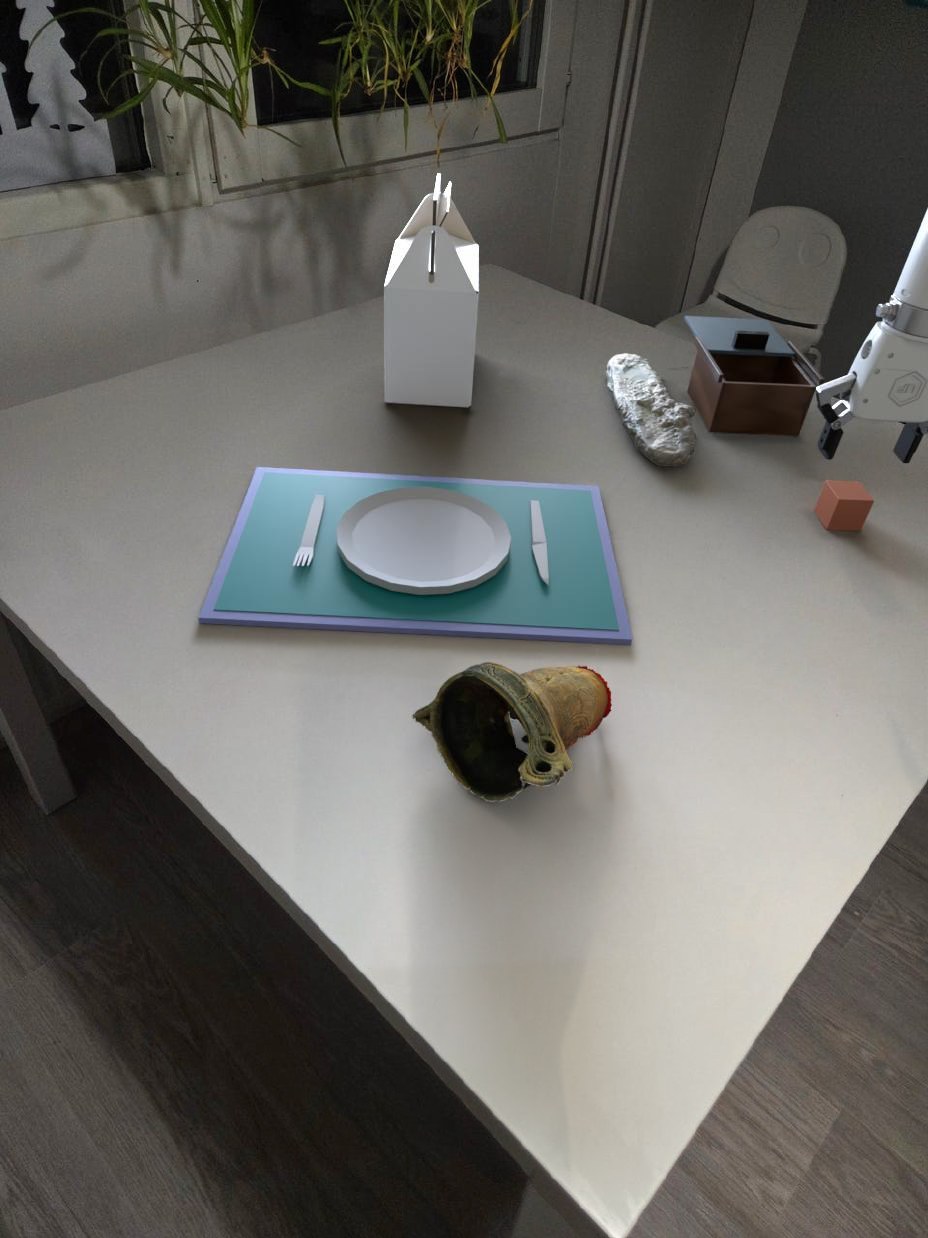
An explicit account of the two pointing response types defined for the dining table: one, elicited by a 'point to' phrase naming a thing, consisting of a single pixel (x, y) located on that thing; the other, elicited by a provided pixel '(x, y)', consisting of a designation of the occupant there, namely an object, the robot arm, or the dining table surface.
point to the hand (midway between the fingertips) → (862, 456)
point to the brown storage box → (752, 391)
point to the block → (843, 505)
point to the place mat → (420, 558)
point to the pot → (482, 731)
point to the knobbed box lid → (739, 336)
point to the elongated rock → (650, 411)
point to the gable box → (431, 308)
